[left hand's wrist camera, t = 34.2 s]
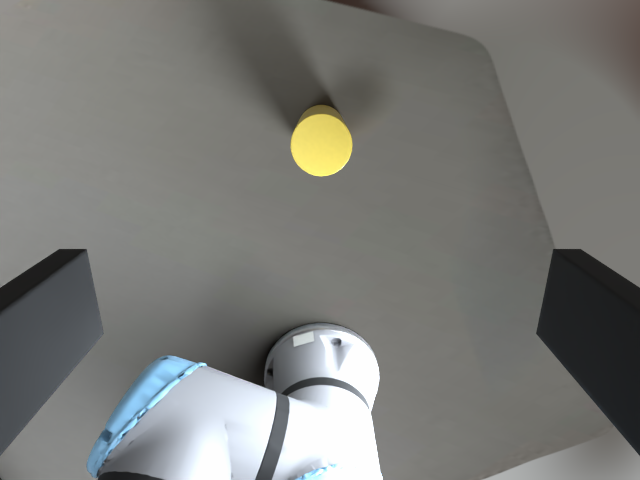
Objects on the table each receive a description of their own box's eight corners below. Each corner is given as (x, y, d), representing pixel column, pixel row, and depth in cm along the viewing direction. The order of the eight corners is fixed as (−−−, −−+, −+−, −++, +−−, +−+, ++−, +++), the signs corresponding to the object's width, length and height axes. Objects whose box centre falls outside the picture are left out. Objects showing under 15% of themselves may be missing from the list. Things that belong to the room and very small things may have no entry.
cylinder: (354, 123, 47) (364, 137, 36) (327, 162, 49) (329, 187, 38) (314, 94, 46) (313, 100, 35) (288, 135, 48) (278, 153, 37)
